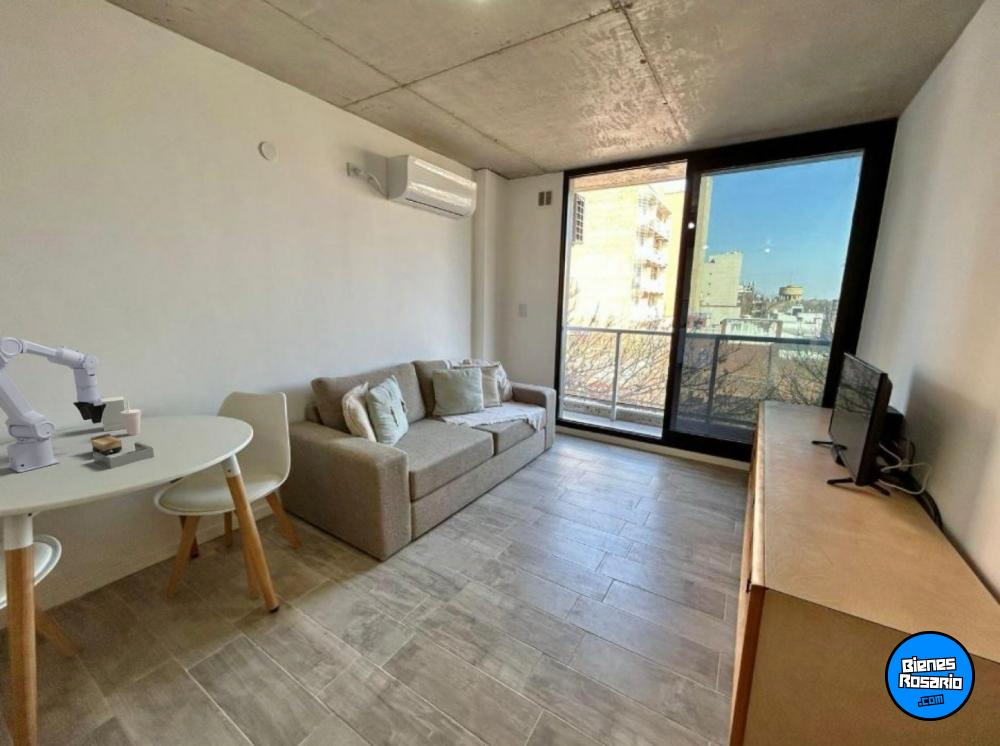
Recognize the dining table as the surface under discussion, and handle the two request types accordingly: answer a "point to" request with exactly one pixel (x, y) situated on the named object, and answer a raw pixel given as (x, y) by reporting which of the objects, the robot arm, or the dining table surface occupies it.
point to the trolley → (105, 444)
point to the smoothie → (132, 420)
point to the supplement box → (113, 413)
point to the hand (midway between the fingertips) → (92, 421)
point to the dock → (125, 456)
